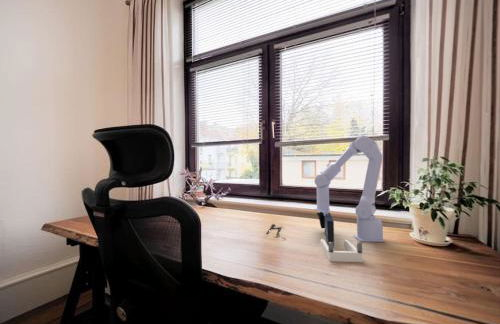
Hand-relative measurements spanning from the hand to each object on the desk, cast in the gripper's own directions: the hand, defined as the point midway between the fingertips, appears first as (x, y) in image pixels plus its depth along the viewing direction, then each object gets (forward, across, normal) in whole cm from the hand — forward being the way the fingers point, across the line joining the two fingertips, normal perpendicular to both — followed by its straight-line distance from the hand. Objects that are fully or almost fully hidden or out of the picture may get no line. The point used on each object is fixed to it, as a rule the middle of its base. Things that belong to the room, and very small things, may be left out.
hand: (323, 227), depth 111 cm
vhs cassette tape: (+2, +12, 0) cm, 12 cm away
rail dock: (+2, +27, 0) cm, 27 cm away
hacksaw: (+2, +2, -22) cm, 22 cm away
